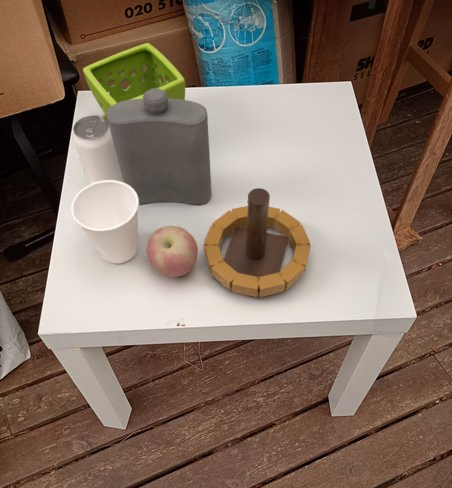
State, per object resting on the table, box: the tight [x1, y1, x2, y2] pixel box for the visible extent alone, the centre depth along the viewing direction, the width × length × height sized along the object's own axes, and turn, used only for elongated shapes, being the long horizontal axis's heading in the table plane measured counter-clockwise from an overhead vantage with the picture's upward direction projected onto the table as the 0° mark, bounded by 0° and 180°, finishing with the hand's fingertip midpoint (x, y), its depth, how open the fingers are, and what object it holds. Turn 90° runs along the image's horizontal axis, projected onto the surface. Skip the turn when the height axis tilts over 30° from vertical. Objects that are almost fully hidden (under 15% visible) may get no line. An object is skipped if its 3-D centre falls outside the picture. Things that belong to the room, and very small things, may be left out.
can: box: [72, 114, 124, 185], centre depth 86 cm, size 6×6×12 cm
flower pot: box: [82, 42, 186, 125], centre depth 92 cm, size 14×14×13 cm
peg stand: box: [223, 187, 289, 277], centre depth 75 cm, size 9×9×14 cm
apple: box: [146, 225, 199, 277], centre depth 77 cm, size 8×8×8 cm
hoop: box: [203, 205, 311, 298], centre depth 79 cm, size 16×16×2 cm
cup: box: [70, 180, 140, 264], centre depth 78 cm, size 10×10×11 cm
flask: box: [106, 88, 213, 206], centre depth 80 cm, size 15×6×20 cm, turn 88°
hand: (428, 10), depth 61 cm, fingers open, 13 cm apart
